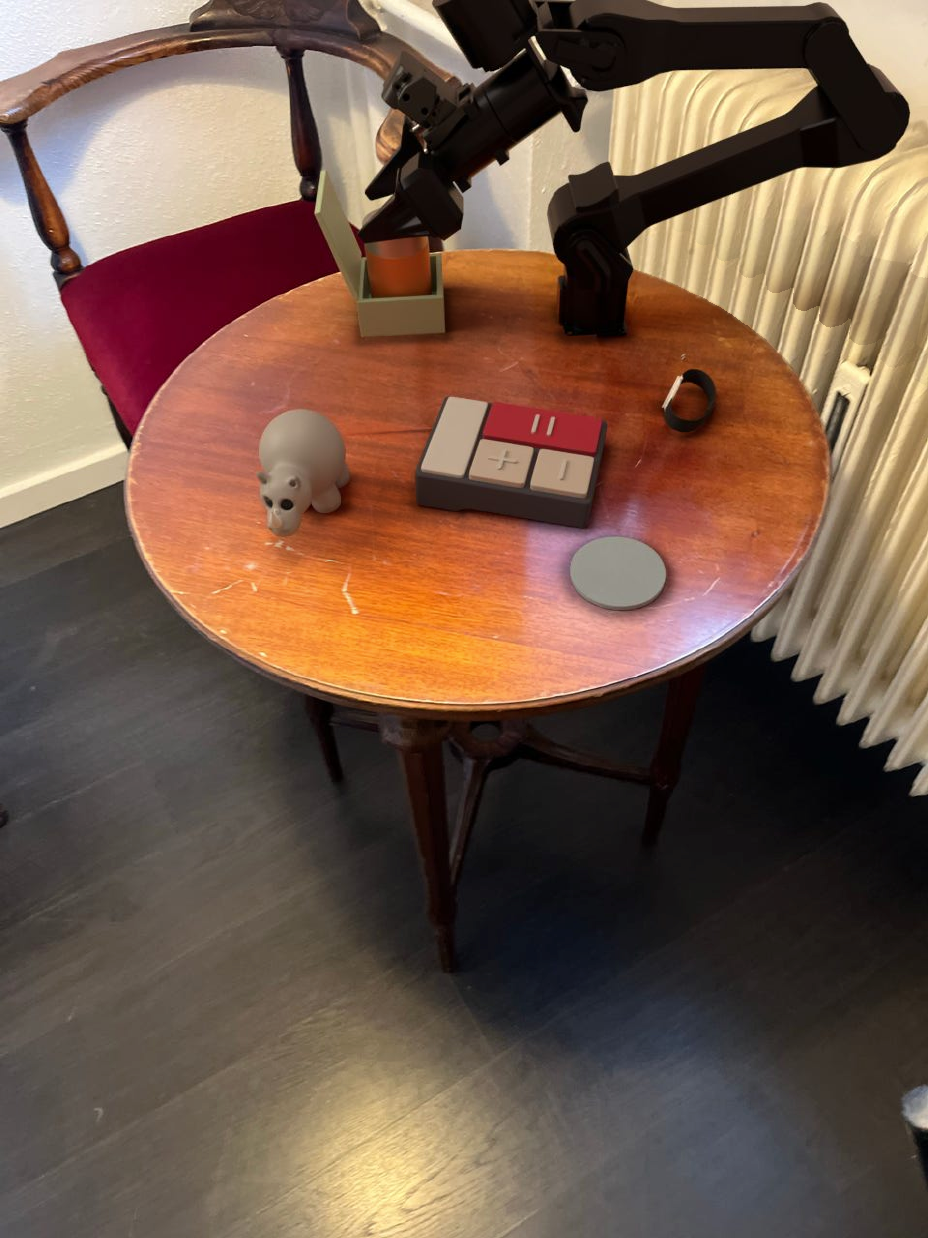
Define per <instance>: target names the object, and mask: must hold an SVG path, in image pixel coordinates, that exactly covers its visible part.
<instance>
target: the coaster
mask: <svg viewBox="0 0 928 1238" xmlns="http://www.w3.org/2000/svg"><path fill="white" fill-rule="evenodd" d="M569 575H570V580H571V583H572V585H573V587H574V589H575V591H577V593H578V595H580V597H582V598H583V599H585V600H586V601H587V602H589V603H591V604H593V605H595V606H597V607H599V608H602V609H606V610H612V611H613V610H614V611H631V610H636V609H639V608H642V607H645V606H647V605H649V604H650V603H652V602H654V600H656V599H657V598H658V597H659V596H660V595H661V593H662V592H663V590H664V588H665V586H666V585H665V584H666V581H667V568H666V566H665V563H664V561H663V558H662V557H661V556H660V555H659V554H658V553H657V551H656V550H655V549H653V548H652V547H651V546H649V545H648V544H646V543H644V542H642V541H640V540H637V539H634V538H631V537H625V536H604V537H600V538H595V539H593V540H591V541H589V542H587V543H586V544H584V545H582V546H581V547H580V548H578V550H577V551H576V552H575V554H574V555H573V557H572V559H571V562H570V568H569Z"/></svg>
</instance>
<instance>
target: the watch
mask: <svg viewBox="0 0 928 1238" xmlns="http://www.w3.org/2000/svg"><path fill="white" fill-rule="evenodd" d="M686 383H690V384H693V385H696V386H697V387H698V388H700V389H701V390H702V391H703V392H704V394H705V395H706V397H707V403H708V404H707V405H708V406H707V408H706V409H705V412H704V414H703V415H702V416H700V417H699V418H697V419H686V418H682V417H680V416H678V415H677V414H676V413H675V411H673V408H672V401H673V400H674V398H675V396H676V394H677V392H678V390H679V388H680V387H681V385H682V384H686ZM716 397H717V387H716V385H715V382H714V380H713V379H712V377H710V375H709V374H708V373H706V372H705V371H703V370H701V369H699V368H690V369H689V368H688V369H687V370H685V371H684V372H683V373H682V375H677V376H676V378H675V380H674V382H673V384H672V386H671V388H670V390H669V392H668V394H667V396H666V398H665V400H664V403H663V404H662V406H661V408H662V409H664V410H663V411H664V413H663V416H664V421H665V423H666V425H667V426H668V427H669V428H670V429H672V430H673V431H676V432H679V433H692V432H694V431H696V430H697V429H699V428H700V427H701V426H702V425H703V424H704V423H706V422H707V420H708V418H709V416H710V415H711V413H712V411H713V409H714V407H715V405H716V402H715V401H716Z"/></svg>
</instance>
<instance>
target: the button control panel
mask: <svg viewBox="0 0 928 1238" xmlns="http://www.w3.org/2000/svg"><path fill="white" fill-rule="evenodd" d="M430 430H431V431H430V433H429V436H428V438H427V441H426V443H425V446H424V448H423V451H422V453H421V455H420V458H419V460H418V463H417V466H416V469H415V471H414V482H415V483H414V484H415V486H414V487H415V501H416V502H415V503H416V504H417V505H419V506H423V507H430V508H436V509H442V510H448V511H454V512H458V511H462V510H466V509H470V510H476V511H483V512H487V513H493V514H500V515H505V516H510V517H516V518H522V519H528V520H534V521H540V522H545V523H551V524H557V525H562V526H567V527H573V528H579V529H580V528H581V529H584V528H587V526H588V525H589V521H590V516H591V511H592V507H593V501H594V497H595V492H596V486H597V482H598V478H599V477H598V476H599V473H600V469H601V463H602V458H603V453H604V448H605V444H606V443H605V442H606V438H607V433H608V432H607V431H608V423H607V421H605V420H603V419H602V418H600V417H597V416H596V417H595V416H588V415H582V414H576V413H571V412H570V413H569V412H562V411H556V410H552V409H544V408H538V407H531V406H525V405H519V404H512V403H505V402H499V401H494V402H487V401H483V400H476V399H470V398H463V397H456V396H446V397H444V399H443V401H442V403H441V406H440V408H439V411H438V414H437V416H436V418H435V421H434V423H433V425H432V428H431V429H430Z"/></svg>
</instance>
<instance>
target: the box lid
mask: <svg viewBox="0 0 928 1238" xmlns="http://www.w3.org/2000/svg"><path fill="white" fill-rule="evenodd" d="M314 216H315V218H316V220H317V222H318V226H319V227H320V229H321V231H322V234H323V236H324V238H325V240H326V242H327V245H328V247H329V249H330V252H331V253H332V257H333V258H334V261H335V264H336V265H337V267H338V270H339V271H340V274H341V276H342V278H343V280H344V283H345V285H346V287H347V290H348V291H349V294H350V297H351V298H352V300H357V298H358V294H359V281H360V267H361V258H362V251H361V248H360V246H359V244H358V242H357V240H356V237H355V234H354V232H353V229H352V228H351V225H350V223H349V220H348V218H347V216H346V213H345V210H344V208H343V206H342V203H341V201H340V199H339V196H338V194H337V192H336V189H335V188H334V185H333V182H332V180H331V178H330V175H329V173H328V170H327V169H323V170H320V173H319V181H318V187H317V195H316V201H315V208H314Z"/></svg>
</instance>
